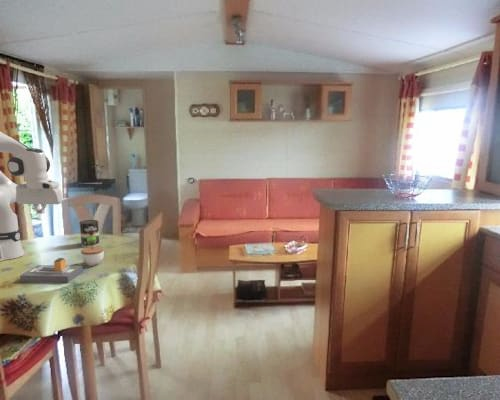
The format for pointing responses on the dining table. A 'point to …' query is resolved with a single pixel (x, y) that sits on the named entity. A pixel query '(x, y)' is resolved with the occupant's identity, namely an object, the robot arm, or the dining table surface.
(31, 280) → the panel
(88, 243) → the coffee can
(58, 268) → the lever
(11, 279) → the dining table surface
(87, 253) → the lidded jar
